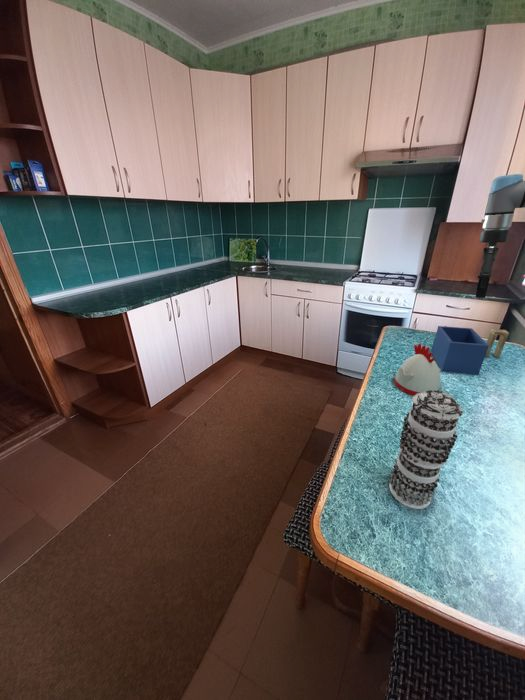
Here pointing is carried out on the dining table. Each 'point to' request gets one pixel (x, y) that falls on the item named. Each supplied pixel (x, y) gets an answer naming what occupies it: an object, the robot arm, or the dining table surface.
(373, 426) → the dining table surface
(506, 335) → the wood clip
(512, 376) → the dining table surface
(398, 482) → the decorative candle
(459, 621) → the dining table surface
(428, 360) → the kitchen timer
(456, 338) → the blue bin
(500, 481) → the dining table surface
